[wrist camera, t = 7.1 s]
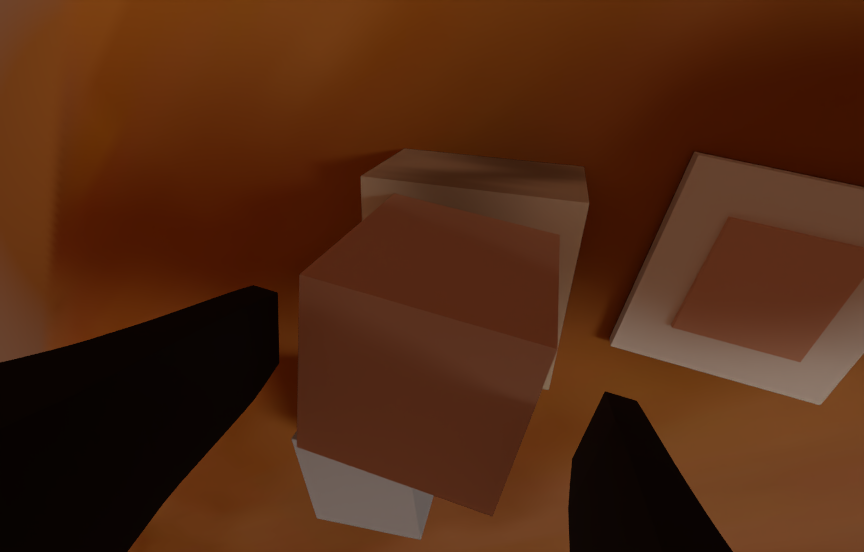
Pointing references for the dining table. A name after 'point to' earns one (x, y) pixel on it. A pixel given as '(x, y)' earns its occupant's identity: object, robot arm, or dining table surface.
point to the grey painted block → (362, 497)
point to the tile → (754, 279)
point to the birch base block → (492, 197)
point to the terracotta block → (427, 347)
